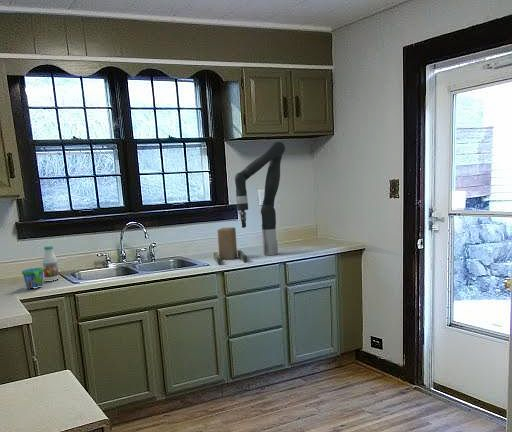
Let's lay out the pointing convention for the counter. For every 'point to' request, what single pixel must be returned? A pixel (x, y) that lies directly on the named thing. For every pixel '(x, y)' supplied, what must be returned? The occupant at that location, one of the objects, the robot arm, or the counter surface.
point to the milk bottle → (50, 264)
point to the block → (227, 243)
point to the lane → (240, 255)
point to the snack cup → (33, 277)
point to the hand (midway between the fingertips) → (244, 227)
